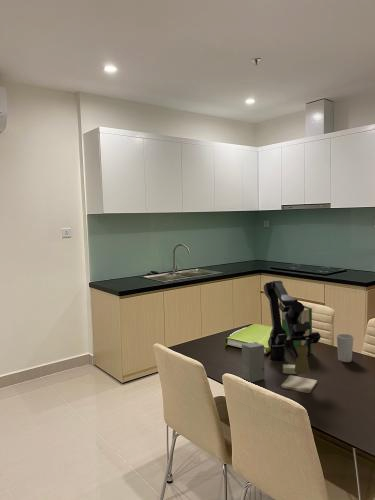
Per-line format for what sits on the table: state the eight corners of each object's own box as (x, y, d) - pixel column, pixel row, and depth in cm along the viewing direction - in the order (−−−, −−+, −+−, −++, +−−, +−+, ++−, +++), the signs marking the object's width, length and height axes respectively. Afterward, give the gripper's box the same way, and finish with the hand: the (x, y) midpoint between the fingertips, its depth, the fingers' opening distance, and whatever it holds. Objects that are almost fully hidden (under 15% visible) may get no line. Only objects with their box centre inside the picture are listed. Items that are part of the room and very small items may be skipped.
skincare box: (250, 383, 174) (250, 348, 173) (241, 377, 181) (240, 343, 179) (265, 379, 178) (265, 344, 177) (256, 373, 184) (255, 340, 183)
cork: (295, 367, 173) (295, 343, 172) (309, 369, 171) (309, 344, 170) (293, 373, 168) (293, 347, 167) (308, 374, 166) (308, 349, 164)
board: (281, 387, 169) (281, 385, 169) (290, 377, 179) (290, 375, 179) (309, 393, 163) (309, 391, 163) (317, 382, 173) (317, 380, 173)
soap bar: (283, 373, 184) (283, 367, 184) (282, 370, 188) (282, 364, 188) (296, 374, 183) (296, 368, 183) (296, 371, 187) (296, 364, 187)
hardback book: (311, 352, 210) (311, 308, 208) (299, 354, 208) (299, 309, 205) (293, 343, 227) (293, 301, 224) (282, 344, 224) (281, 302, 222)
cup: (355, 362, 194) (355, 338, 193) (337, 362, 196) (337, 338, 195) (351, 357, 202) (351, 334, 201) (335, 356, 204) (335, 333, 203)
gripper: (277, 316, 170) (286, 350, 160) (319, 314, 172) (330, 347, 162) (271, 328, 179) (279, 361, 169) (311, 326, 181) (322, 358, 171)
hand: (302, 357), depth 167 cm, fingers closed on cork, 5 cm apart
